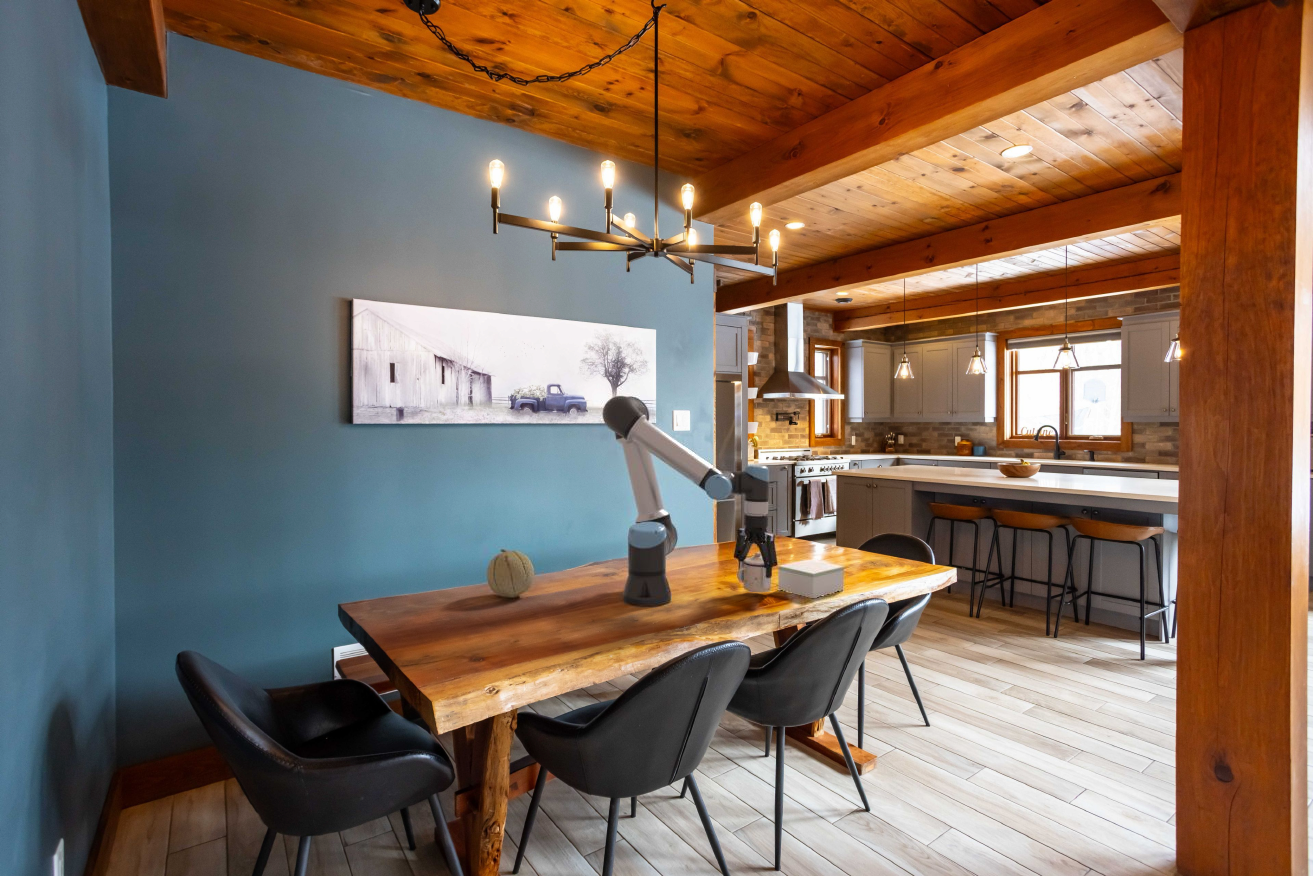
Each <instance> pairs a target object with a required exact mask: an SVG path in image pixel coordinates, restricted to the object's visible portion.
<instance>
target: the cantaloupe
mask: <svg viewBox="0 0 1313 876" xmlns="http://www.w3.org/2000/svg"><path fill="white" fill-rule="evenodd" d="M500 552H501V553H497V554H496V555H495V556H494V557H493V558H492V559H491V561H489V563H488V566H487V569H486V578H487V583H488V586H489V587H490V590H491V591H492V592H494V593H495V594H496V595H497V596H500V597H502V598H509V599H515V598H517V597H519V596H520V595H522V594H524V593H525V592H527V591H528V590H529V589H530V588H531V587H532V585H533V583H534V579H535V569H534V566H533V564H532V561H531V560H530V558H529V557H528V556H527V555H526V554H525V553H523V552H521V551H520V550H519V551H518V550H506V549H504V548H501V549H500Z"/></svg>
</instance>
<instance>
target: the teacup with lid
mask: <svg viewBox="0 0 1313 876" xmlns="http://www.w3.org/2000/svg"><path fill="white" fill-rule="evenodd" d="M768 564H769V563H768ZM763 567H765V565H764V562H763V559H762V556H761V553H760V551H759V552H757V551H756V552H755V553H754V555H752V556H750V557H746V559H745V560H744V567H742V568H740V569H738V570H737V571H736V578H737V580H738V581H740V582H739V583H742V584H743V589H744V590H746V591H747V592H752V593H766V592H770V591H771V589H772V586H771V585H772V577H771V578H770V587H769V588H765V589H764V588H762V583H763ZM742 570H744V581H742V580H741V578H740V573H741V571H742Z"/></svg>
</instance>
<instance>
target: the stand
mask: <svg viewBox="0 0 1313 876" xmlns="http://www.w3.org/2000/svg"><path fill="white" fill-rule="evenodd" d="M777 570H778V572H777V573H778V574H777V575H778V578H777V580H778V581H777V586H778V587H777V590H778V589H781V590H784V591H788V592H792V593H796V594H800V595H803V596H806V597H805V598H807V597H809V598H808V599H811V598H815V599H818V598H817V597H819V596H822V595H826V594H830V593H833V592H837V591H841V590H843V591H844V578H845V577H844V576H845V575H844V572H845V566H843V565H838V564H832V563H829V562H823V561H819V560H813V559H810V558H809V559H804V560H800V561H795V562H790V563H786V564H781V565H777ZM784 591H783V592H784ZM788 592H787V593H788ZM841 592H842V591H841ZM837 593H838V592H837ZM833 594H834V593H833ZM830 595H831V594H830ZM803 596H802V597H803ZM826 596H827V595H826ZM819 598H820V597H819Z"/></svg>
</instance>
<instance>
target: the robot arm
mask: <svg viewBox="0 0 1313 876" xmlns="http://www.w3.org/2000/svg"><path fill="white" fill-rule="evenodd" d="M602 419H603V422H604V424H605V425H606V427H607V428H608V429H609V430H611V431H612V432H613V433H614V436H615V440H616V441H617V443H620V444H621V445H622V450H623V454H624V459H625V464H626V467H627V470H628V475H629V480H630V485H631V488H632V493H633V497H634V501H635V505H636V508H637V517H636V519H635V523H634V524H632V525H631V526H630V527H629V529H628V535H627V543H628V545H627V554H628V556H627V559H628V561H627V565H628V566H627V567H628V569H627V571H628V572H627V579H626V581H625V585H624V589H623V591H622V602H623V603H625V604H628V605H630V606H631V605H632V606H635V607H637V606H638V607H657V606H663V605H666V604H669V603H670V602H671V601H672V591H671V589H670V584H669V582H668V578H667V570H666V568H667V567H666V566H667V565H666V563H667V562H666V561H667V558H666V557H667V556H668V555H670V554H671V553H672V552H673V551H674V549H675V548H676V546H677V543H678V538H679V537H678V536H679V534H678V530H677V528H676V526H675V525H674V524H673V522H672V518H671V514H670V511H667V510H666V509H665V508H664V504H663V501H662V497H661V491H660V488H659V483H658V479H657V475H656V471H655V466H654V462H653V457H652V455H653V456H655V457H656V458H658V460H660V461H662V462H663V463H665V464H666V465H668V466H669V467H670V468H672V469H673V470H675V471H676V472H677V473H679V474H681V475H682V476H683V477H685V478H686V479H687V480H689V481H690V482H691V483H693V484H694V485H696V486H698V487H699V488H700V489H701V490H703V491H704V492H705V493H706V495H707V496H708V497H709V498H710V499H711V500H714V501H720V500H725V499H727V498H728V497H729V496H730V495H737V496H740V495H741V496H744V505H743V506H744V508H743V510H744V511H743V512H744V513H745V514H744V516H743V524H744V527H745V528H738V529H736V531H737V538H736V543H735V549H734V554H733V558H734V559H737V561H738V570H739V569H740V568H742V567H744V560H745V559H746V558H748V557H747V556H748V554H749V552H750V550H751V548H752V545H753V544H754V545H756V546H757V548H758V550H759V553H761V556H762V559H763V562H764V565H765V567H763V583H762V588H764V589H765V588H769V587H770V578H771V579H772V576H773V567H778V566H779V565H778V558H777V551H776V545H775V537H776V535H775V534H774V533H768V531H767V528H768V526H769V515H768V513H769V496H770V495H769V493H770V470H769V467H768V466H767V465H761V464H760V465H758V464H755V465H754V464H749V465H746V466H745V469H744V470H741V471H740V470H739V471H738V470H737V471H736V470H734V471H733V470H721V469H717V468H716V467H715V466H713V465H712V464H710V463H709V462H708V461H706V460H704V459H703V458H702V457H700V456H699V455H697V454H696V453H695V452H693V451H691V449H689V448H687V447H686V446H684V445H683V444H681V443H680V442H679V441H677V440H676V439H674V438H673V437H671V436H670V435H669V434H667V433H666V432H664V431H663V430H661V429H660V428H659V427H657V426H656V425H654V424H653V423H651V422H650V411H649V408H648V406H647V404H646V403H645V402H644V401H643V400H642V399H640V398H638V397H636V396H625V395H617V396H613V397H611V398H609V400H608V401H606V402H605V404H604V406H603V408H602ZM768 563H769V564H768ZM740 578H741V580H742V581H744V570H742V571H741V573H740ZM738 581H739V580H738ZM739 583H741V582H740V581H739Z"/></svg>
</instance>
